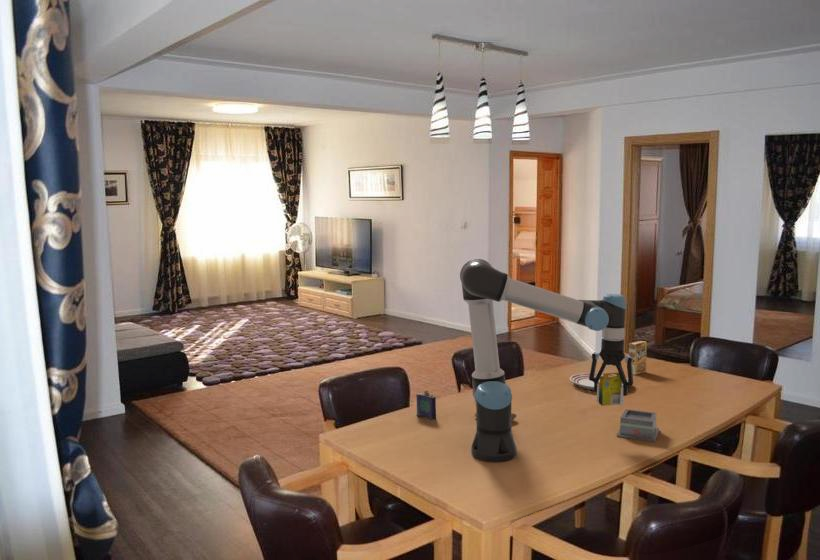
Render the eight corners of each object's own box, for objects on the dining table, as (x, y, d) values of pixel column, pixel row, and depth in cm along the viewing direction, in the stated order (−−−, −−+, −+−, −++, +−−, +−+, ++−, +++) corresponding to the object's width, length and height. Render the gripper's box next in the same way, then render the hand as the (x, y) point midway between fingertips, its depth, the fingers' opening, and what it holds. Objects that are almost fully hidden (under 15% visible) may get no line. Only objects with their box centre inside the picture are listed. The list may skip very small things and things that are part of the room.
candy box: (635, 375, 313) (636, 344, 311) (627, 373, 316) (628, 342, 314) (646, 372, 318) (647, 341, 316) (638, 370, 321) (639, 340, 319)
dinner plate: (582, 375, 315) (582, 368, 314) (639, 383, 299) (640, 376, 298) (560, 388, 293) (560, 381, 292) (620, 398, 277) (620, 391, 276)
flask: (415, 415, 258) (415, 389, 257) (419, 413, 260) (419, 387, 259) (433, 420, 252) (433, 393, 251) (438, 418, 255) (438, 391, 253)
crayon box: (617, 402, 230) (619, 370, 228) (621, 405, 227) (623, 372, 226) (598, 403, 229) (599, 371, 227) (602, 406, 226) (603, 373, 224)
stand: (655, 442, 226) (655, 423, 225) (616, 436, 232) (617, 418, 231) (659, 430, 237) (659, 412, 236) (622, 425, 243) (622, 407, 242)
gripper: (644, 339, 224) (641, 403, 226) (585, 333, 233) (583, 395, 235) (642, 343, 217) (638, 409, 220) (581, 337, 226) (578, 401, 229)
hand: (610, 402), depth 228 cm, fingers closed on crayon box, 7 cm apart
